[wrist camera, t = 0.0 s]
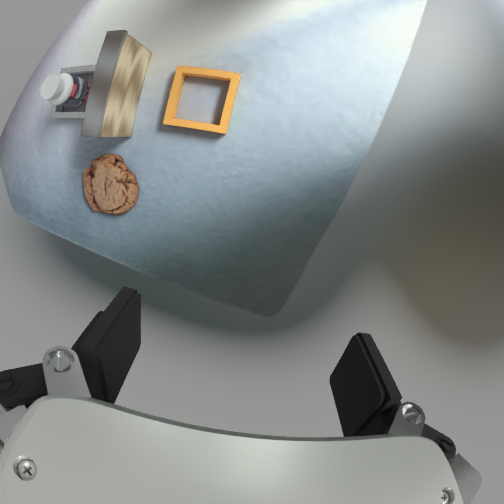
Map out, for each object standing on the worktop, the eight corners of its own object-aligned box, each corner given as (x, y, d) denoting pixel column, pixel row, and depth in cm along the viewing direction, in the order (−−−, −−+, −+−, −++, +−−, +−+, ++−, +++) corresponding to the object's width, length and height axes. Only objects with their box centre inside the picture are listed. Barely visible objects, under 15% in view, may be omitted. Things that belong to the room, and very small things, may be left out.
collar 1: (67, 70, 31) (61, 68, 29) (107, 67, 32) (101, 64, 30) (56, 118, 34) (50, 117, 32) (95, 118, 35) (88, 118, 33)
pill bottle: (92, 102, 34) (61, 97, 26) (69, 111, 34) (36, 109, 26) (92, 74, 32) (62, 64, 24) (69, 84, 32) (37, 78, 24)
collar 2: (181, 69, 33) (177, 65, 31) (240, 77, 33) (240, 73, 31) (166, 124, 36) (162, 123, 34) (226, 134, 37) (224, 133, 35)
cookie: (132, 222, 42) (125, 228, 39) (82, 202, 40) (73, 206, 38) (149, 164, 38) (141, 165, 36) (95, 146, 37) (85, 147, 34)
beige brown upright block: (138, 52, 31) (107, 31, 21) (153, 53, 31) (125, 29, 21) (118, 135, 36) (80, 136, 26) (132, 137, 36) (97, 137, 26)
